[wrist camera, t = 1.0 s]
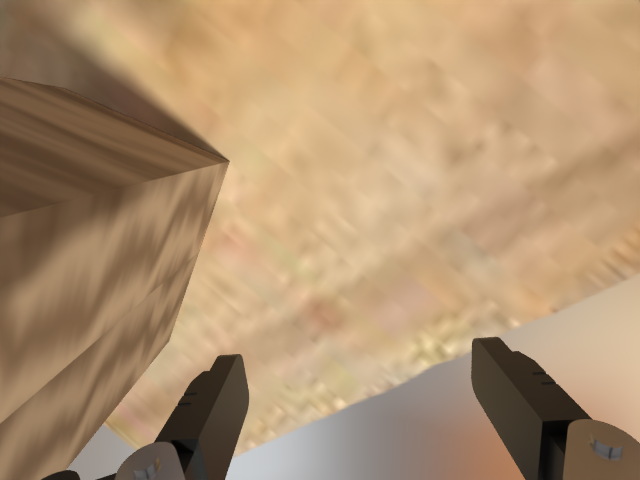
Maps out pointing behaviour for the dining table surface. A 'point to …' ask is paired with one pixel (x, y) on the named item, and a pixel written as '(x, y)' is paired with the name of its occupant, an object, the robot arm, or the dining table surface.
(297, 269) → the dining table surface
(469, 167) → the dining table surface
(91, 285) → the walnut stand
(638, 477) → the robot arm
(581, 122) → the dining table surface
